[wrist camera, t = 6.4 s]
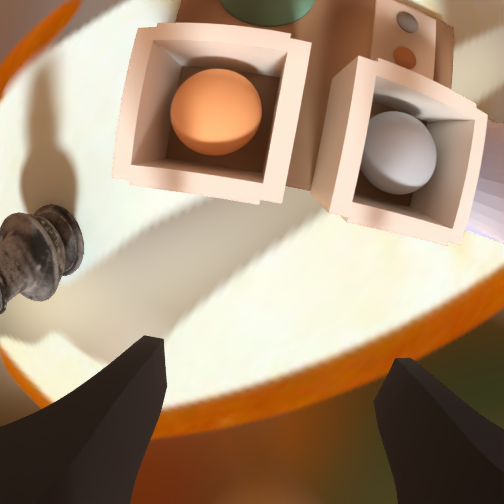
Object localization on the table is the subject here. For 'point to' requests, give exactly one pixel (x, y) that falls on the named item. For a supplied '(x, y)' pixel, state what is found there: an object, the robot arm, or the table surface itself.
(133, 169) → the beige open box
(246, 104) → the orange ball
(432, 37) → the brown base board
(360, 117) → the open square box
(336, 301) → the table surface
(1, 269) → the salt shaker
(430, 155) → the grey ball
